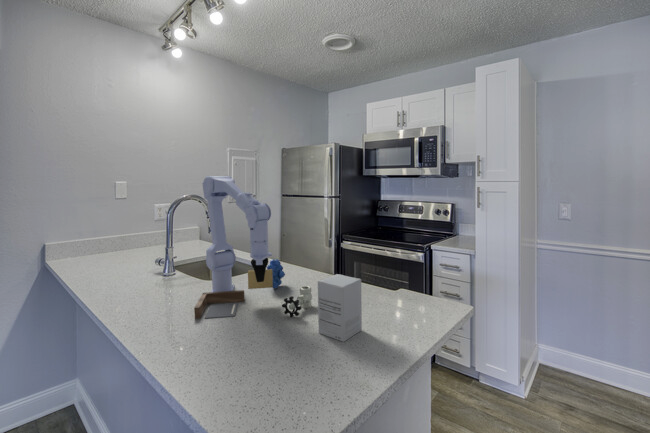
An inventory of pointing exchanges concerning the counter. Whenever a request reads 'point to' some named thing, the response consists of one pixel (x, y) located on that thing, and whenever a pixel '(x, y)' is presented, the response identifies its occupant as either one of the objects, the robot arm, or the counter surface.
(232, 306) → the mat
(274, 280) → the grapes
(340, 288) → the supplement box
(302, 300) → the valve
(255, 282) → the bronze bracket
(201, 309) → the corner walls
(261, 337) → the counter surface
